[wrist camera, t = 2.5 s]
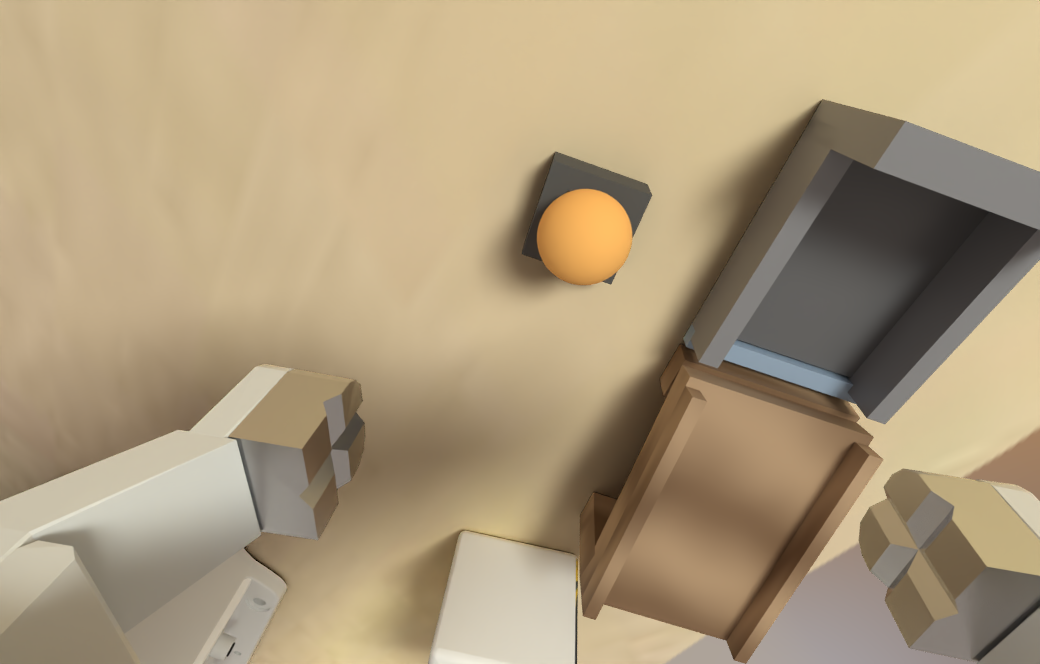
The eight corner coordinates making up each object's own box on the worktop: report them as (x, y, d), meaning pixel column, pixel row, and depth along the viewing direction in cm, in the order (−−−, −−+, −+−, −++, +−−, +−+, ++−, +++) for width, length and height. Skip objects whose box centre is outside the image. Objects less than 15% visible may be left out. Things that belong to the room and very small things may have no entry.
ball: (607, 274, 19) (612, 313, 17) (529, 247, 19) (520, 282, 16) (643, 195, 18) (654, 225, 15) (557, 165, 18) (553, 189, 15)
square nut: (609, 268, 20) (610, 284, 19) (525, 240, 20) (521, 254, 19) (647, 184, 19) (652, 195, 17) (555, 151, 18) (553, 160, 17)
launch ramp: (712, 555, 29) (740, 667, 23) (579, 515, 28) (579, 621, 23) (846, 399, 22) (923, 505, 17) (680, 343, 22) (709, 436, 17)
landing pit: (851, 394, 22) (914, 480, 18) (683, 338, 22) (707, 412, 17) (1035, 179, 17) (1185, 227, 13) (822, 99, 17) (906, 121, 12)
